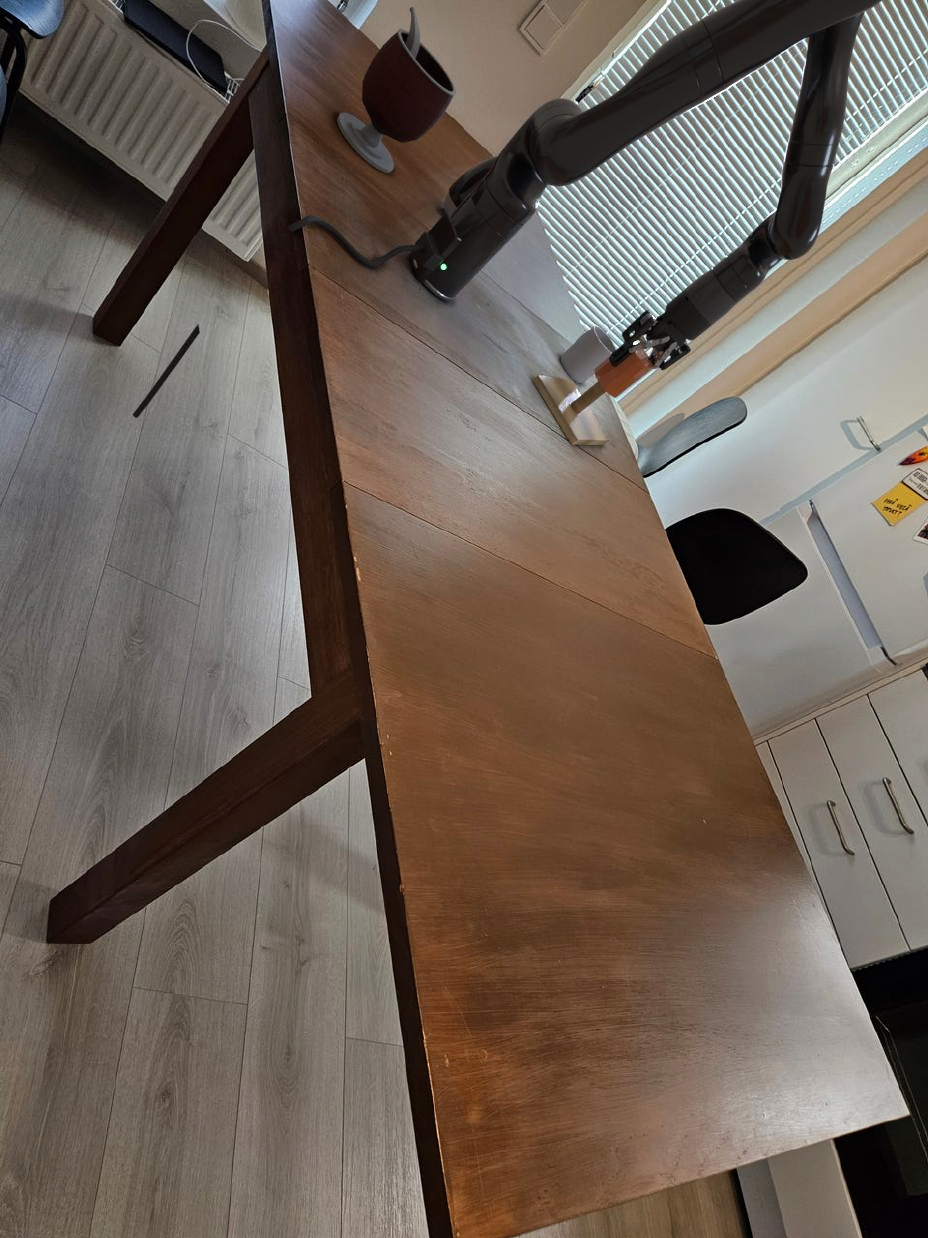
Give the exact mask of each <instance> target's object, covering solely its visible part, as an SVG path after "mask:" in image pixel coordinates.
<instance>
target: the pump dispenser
mask: <svg viewBox="0 0 928 1238" xmlns="http://www.w3.org/2000/svg"><path fill="white" fill-rule="evenodd" d="M497 157H498V155H497V156H492V157H490V158H488V159H485V160H483V161H481V162H479V163H478V164H476V165H474V166H473V167H471V168H470V169H468V170H467V171H465V172H464V173H463V174H462V175H461V176H460V177H458V178H457V179H456V180H455V181H453V182H452V184H451V185H450V186H449V188H448V192H447V194H446V196H445V199H444V205H443V207H444V214H445V213H446V212H449V213H450V214H452V213H453V212H454V211H455V210H456V209H457V207H458V206H459V205H460V204H461V203H462V202H463V201H464V200H465V199H466V197H467V196H468V195H469V194H470V193H471V192H472V191H473V190H474V189H475V187H476V186H477V185H478V184H479V183H480V182H481V181H482V180H483V179H484V177H485V176H486V175H487V174H488V173H489V171H490V170H491V169H492V167H493V165H494V163H495V161H496V159H497Z"/></svg>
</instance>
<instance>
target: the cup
mask: <svg viewBox="0 0 928 1238" xmlns="http://www.w3.org/2000/svg"><path fill="white" fill-rule="evenodd" d="M617 349H618V348H617V347H616V345H615V343H614V342H613V340H612V339H611V337H610V336H609V335H608V334H607V333H606V332H605V330H603V328H601V327H600V326H598V325H594V326H592V327H591V328H590V329H588V330H586V331H585V332H583V333H582V334H581V335H580V336H579V337H578V338H577V339H576V340H575V342H574V343H573V344H572V345H570V346H569V348H567V349H566V350H564V352H563V353H562V354H561V356H560V363H561V365H562V367H563V369H564V370H565V372H566V373H567V375H568V376H569V377H570V378H571V380H572V381H575V382H576V383H578V384H584V383H585V382H587V381H588V380H589V379H590V378H592V377H593V376H594V375H595V368H596V367H598V366H599V365H600V364H601V363H602V362H604V361H605V360H606V359H607V358H608V357H610V355H611V354H612V353H613V352H615V350H617Z"/></svg>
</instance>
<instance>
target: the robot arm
mask: <svg viewBox="0 0 928 1238" xmlns="http://www.w3.org/2000/svg"><path fill="white" fill-rule="evenodd" d="M882 1H883V0H736V1H734V2H732V3H730V4H728V5H726V6H724V7H721V8H720V9H718V10H715V11H714V12H712V13H710V14H708V15H706V16H704V17H702V18H700V20H698V21H696V22H695V23H693V24H691V25H689V26H688V27H686V28H684V29H683V30H681V31H680V32H678V33H676V34H675V35H673V36H672V37H670V38H669V39H667V40H666V42H664V43H663V44H661V45H660V46H659V48H657V49H656V50H655V51H654V52H653V53H652V54H651V55H650V57H648V59H647V60H646V61H645V62H644V63H643V64H642V65H641V67H640V68H638V70H637V71H636V72H635V74H633V76H632V77H631V78H630V79H629V80H628V81H627V82H626V83H625V84H624V85H623V86H622V87H621V88H620V89H618V90H617V91H616V92H614V93H613V94H611V96H609V97H608V98H606V99H604V100H603V101H601V102H599V103H597V104H595V105H594V106H592V107H590V108H588V109H586V110H584V111H583V109H582V108H581V107H580V106H579V105H578V104H577V103H576V102H575V101H573V100H571V99H568V98H563V97H562V98H561V97H560V98H554V99H550V100H548V101H547V102H545V103H543V104H541V105H540V106H539V107H538V108H537V109H535V111H533V113H532V114H531V115H530V116H529V117H528V118H527V119H526V120H525V121H524V123H523V124H522V125H521V126H520V127H519V128H518V130H517V131H516V132H515V134H514V135H513V136H512V137H511V138H510V139H509V141H508V142H507V143H506V145H505V146H504V147H503V148H502V149H501V151H500V152H499V154H497V156H498V157H497V159H496V161H495V163H494V165H493V167H492V169H491V170H490V171H489V173H488V174H487V175H486V176H485V177H484V179H483V180H482V181H481V182H480V183H479V184H478V185H477V186H476V187H475V189H474V190H473V191H472V192H471V193H470V194H469V195H468V196H467V197H466V199H465V200H464V201H463V202H462V203H461V204H460V205H459V206H458V207H457V209H456V210H455V211H454V212H453V213H452V214H450V213H449V212H446V213H445V212H444V214H443V215H442V216H441V217H440V218H439V219H438V220H437V222H436V223H435V224H434V225H433V226H432V227H431V228H430V229H429V231H428V232H427V231H424V232H423V233H422V234H421V235H420V236H419V238H418V239H417V240H416V241H415V242H414V244H405V245H399V246H397V247H395V248H393V249H391V250H390V251H388V252H387V253H385V254H383V255H381V256H379V257H378V258H376V259H375V260H371V259H369V258H367V257H365V256H364V255H363V254H361V253H360V252H359V251H358V250H357V249H356V248H355V247H354V246H353V245H352V244H351V243H350V242H349V240H347V238H346V237H345V236H344V235H343V234H342V233H341V232H340V231H339V230H338V229H337V228H336V227H335V226H333V224H331V223H329V222H328V221H326V220H325V219H322V218H320V217H319V216H316V215H307V216H305V217H303V218H300V219H299V220H297V221H295V222H293V223H291V224H289V225H287V229H288V231H290V232H292V233H293V232H296V231H298V230H299V229H301V228H303V227H305V226H308V225H309V224H312V223H313V224H315V225H317V226H319V227H321V228H323V229H324V230H326V231H327V232H329V233H330V234H331V235H333V236H334V238H335V239H336V240H338V242H339V243H340V244H341V245H342V246H343V247H344V248H345V250H346V251H348V253H349V254H351V255H352V257H354V259H356V260H357V261H359V262H360V263H361V264H363V265H364V266H367V267H368V268H372V269H377V268H378V267H380V266H381V265H382V264H383V263H386V262H387V261H389V260H390V259H392V258H394V257H396V255H399V254H402V253H406V252H409V253H408V257H409V259H410V262H411V265H412V268H413V271H414V274H415V277H416V279H417V281H419V282H420V283H422V284H423V285H424V286H425V287H426V288H427V289H428V290H429V291H430V292H431V293H432V294H433V295H434V296H436V297H437V298H439V299H441V300H442V301H445V302H448V303H449V302H450V303H451V302H452V301H454V300H455V298H456V297H457V295H458V294H459V293H460V292H461V291H462V290H463V289H464V288H465V287H466V286H467V285H468V284H469V283H470V282H471V281H472V280H473V279H474V278H475V277H476V276H477V275H478V274H479V273H480V272H481V271H482V270H483V269H484V267H485V266H486V265H488V263H490V261H492V259H493V258H495V256H496V255H497V254H498V253H499V252H500V251H501V250H502V249H503V248H504V247H505V246H506V245H507V244H508V243H509V242H510V241H511V239H513V238H514V237H515V235H517V234H518V232H520V230H521V229H523V228H524V226H525V225H526V224H528V222H529V221H530V220H531V219H532V218H533V217H534V216H535V214H536V213H537V211H538V208H539V204H540V201H541V198H542V195H543V193H544V192H545V190H546V189H547V187H548V186H551V187H565V186H566V187H567V186H570V185H572V184H575V183H577V182H579V181H581V180H582V179H584V178H585V177H587V176H588V175H590V174H592V173H593V172H594V171H595V170H597V169H598V168H600V167H601V166H602V165H604V164H606V163H607V162H608V161H610V160H611V159H612V158H613V157H615V156H616V155H618V154H619V153H621V152H623V151H624V150H625V149H626V148H628V147H629V146H630V145H632V144H633V143H635V142H637V141H638V140H640V139H642V138H644V137H645V136H647V135H649V134H651V133H653V132H655V131H657V130H658V129H659V128H661V127H663V126H665V125H666V124H668V123H669V122H672V121H673V120H675V119H677V118H678V117H680V116H682V115H683V114H685V113H687V112H689V111H691V110H692V109H695V108H696V107H699V106H700V105H702V104H704V103H706V102H707V101H709V100H711V99H713V98H714V97H716V96H718V95H719V94H721V93H723V92H725V91H726V90H728V89H730V88H731V87H732V86H734V85H736V84H737V83H739V82H740V81H742V80H744V79H745V78H747V77H748V76H751V75H752V74H753V73H755V72H756V71H759V70H760V69H761V68H763V67H765V65H767V64H769V63H770V62H772V61H773V60H774V59H776V58H777V57H779V56H780V55H782V54H783V53H784V52H786V51H787V50H789V49H790V48H792V47H794V46H795V45H797V44H798V43H801V42H802V41H804V40H806V39H808V41H807V48H806V56H805V62H804V66H803V72H802V78H801V84H800V88H799V93H798V97H797V98H798V99H797V103H796V107H795V111H794V116H793V120H792V124H791V128H790V133H789V136H788V142H787V145H786V149H785V154H784V159H783V163H782V168H781V176H780V177H781V179H780V180H781V181H780V182H781V186H780V187H781V188H780V193H779V196H778V200H777V205H776V209H775V210H774V211H772V212H771V213H770V214H769V215H768V216H766V218H765V219H763V220H762V221H761V222H760V223H759V224H758V225H757V226H756V228H755V229H753V230H752V232H751V233H750V234H749V235H747V237H746V238H745V239H744V240H743V241H742V242H741V243H740V244H739V245H738V247H736V248H735V249H734V250H732V251H731V252H730V253H728V254H726V255H725V256H724V257H723V258H722V259H721V260H720V261H719V262H717V263H716V264H715V265H714V266H713V267H712V268H710V269H709V270H707V271H706V272H704V273H703V274H702V275H699V277H698V278H696V279H695V280H694V281H692V282H691V283H690V284H689V285H687V287H686V288H684V289H683V290H682V291H680V292H679V293H678V294H677V295H676V296H675V297H673V298H672V299H671V300H670V301H669V302H668V303H666V305H665V310H664V312H663V313H661V314H660V315H657V316H655V315H653V314H652V313H651V311H650V310H649V309H647V310H644V311H643V312H642V313H641V314H640V315H639V316H638V317H637V318H635V320H634V321H633V322H632V323H631V324H630V325H629V326H627V327H626V328H625V329H624V330H623V331H622V332H621V337H622V339H623V343H622V344H621V345H620V346H619V347H617V348H616V349H617V350H615V352H613V353H612V354H611V355H610V357H609V361H610V363H611V365H612V366H614V367H617V366H618V365H619V364H620V363H622V362H623V361H624V360H625V359H626V358H628V357H629V356H630V355H631V353H632V352H635V351H637V350H640V349H644V350H648V349H651V348H652V350H651V352H650V353H649V355H648V356H649V358H650V360H651V362H652V364H653V369H652V370H657V369H660V371H665V370H667V369H668V368H670V367H671V366H673V365H674V364H675V363H677V362H679V361H681V359H683V358H684V357H685V356H686V355H688V354H689V353H691V352H692V349H691V347H690V345H689V343H688V341H690V342H691V341H692V342H693V341H694V340H696V339H697V338H699V336H701V335H702V334H704V332H706V331H707V330H708V329H710V328H711V327H712V326H714V325H715V324H716V323H717V322H718V321H720V320H721V319H722V318H724V317H725V316H726V315H728V313H730V311H731V310H732V309H733V308H734V307H735V306H737V304H738V303H740V302H741V301H742V300H743V299H745V298H746V297H747V296H748V295H750V294H751V293H752V292H753V291H755V290H756V289H757V288H758V287H759V286H760V285H761V284H762V283H763V282H764V280H765V279H766V277H767V275H768V273H769V272H770V271H771V270H772V269H773V268H774V267H776V266H777V265H778V264H780V262H781V261H782V260H784V261H794V260H797V259H800V258H802V257H804V256H805V255H806V254H808V253H809V252H810V251H811V250H812V249H813V247H814V245H815V244H816V242H817V239H818V237H819V234H820V230H821V225H822V220H823V216H824V210H825V204H826V198H827V193H828V192H827V190H828V184H829V180H830V177H831V174H832V171H833V169H834V165H835V161H836V157H837V153H838V150H839V147H840V142H841V137H842V134H843V129H844V124H845V118H846V111H847V101H848V88H849V76H850V66H851V62H852V56H853V52H854V47H855V43H856V40H857V36H858V32H859V29H860V26H861V23H862V21H863V18H864V16H865V12H867V11H869V10H871V9H873V8H875V7H876V6H877V5H879V4H880V3H881V2H882ZM633 332H634V333H633ZM200 333H201V330H200V324H199V323H197V325H196V326H195V327H194V329H193V330H192V331H191V332H190V334H189V335H188V337H187V338H186V340H184V342H183V344H182V346H180V348H179V350H178V351H177V352H176V354H175V355H174V357H173V358H172V359H171V361H170V363H169V364H168V365H167V367H165V369H164V371H163V372H162V374H161V375H160V377H159V378H158V379H157V381H156V382H155V384H154V385H153V386H152V388H151V389H150V390H149V392H148V393H147V395H146V396H145V397H144V398H143V400H142V401H141V403H140V404H139V405H138V407H137V408H136V409H135V411H133V413H132V416H133V418H135V419H138V418H139V417H140V416H141V414H142V413H143V412H144V411H145V409H146V408H147V406H149V404H150V403H151V401H152V400H153V399H154V398H155V396H156V395H157V393H158V392H159V391H160V390H161V388H162V387H163V385H164V383H165V382H166V381H167V379H168V378H169V377H170V375H171V374H172V372H173V371H174V370H175V368H176V367H177V365H179V363H180V361H181V360H182V358H183V357H184V356H185V354H186V353H187V351H188V350H189V349H190V348H191V346H192V345H193V344H194V341H195V340H196V339H197V338H198V336H199V335H200ZM687 340H688V341H687ZM638 341H639V342H638ZM635 342H637V344H635V345H634V343H635ZM668 357H669V359H668ZM667 359H668V360H667Z"/></svg>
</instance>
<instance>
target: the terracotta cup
mask: <svg viewBox="0 0 928 1238" xmlns="http://www.w3.org/2000/svg"><path fill="white" fill-rule="evenodd" d="M637 343H638V341H636V342H635V343H634V345H635V344H637ZM653 370H654V369H653V364H652V362H651V360H650V358H649V355H648V352H646V350H645V349H640V350H637V351H635V352H632V353H631V355H630V356H629V357H628V358H626V359H625V360H624V361H623V362H622V363H620V364H619V365H618V366H617V367H614V366H612V365H611V363H610V361H609V357H608V358H607V359H606V360H605V361H604V362H602V363H601V364H600V365H599V366H598V367H596V368H595V374H594V375H595V378H596V380H597V382H599V383H600V385H601V386H602V387H603V389H604V390H605V391H606V392H605V393H606V394H608V395H609V396H610V397H612V398H614V399H617V398H619V397H621V395H623V394H624V393H625V392H626V391H628V390H629V389H630V388H631V387H632V386H634V385H635V384H636V383H638V382H639V381H641V379H643V378H644V377H645V376H646V375H648V374H649V373H650V372H652V371H653Z"/></svg>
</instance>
